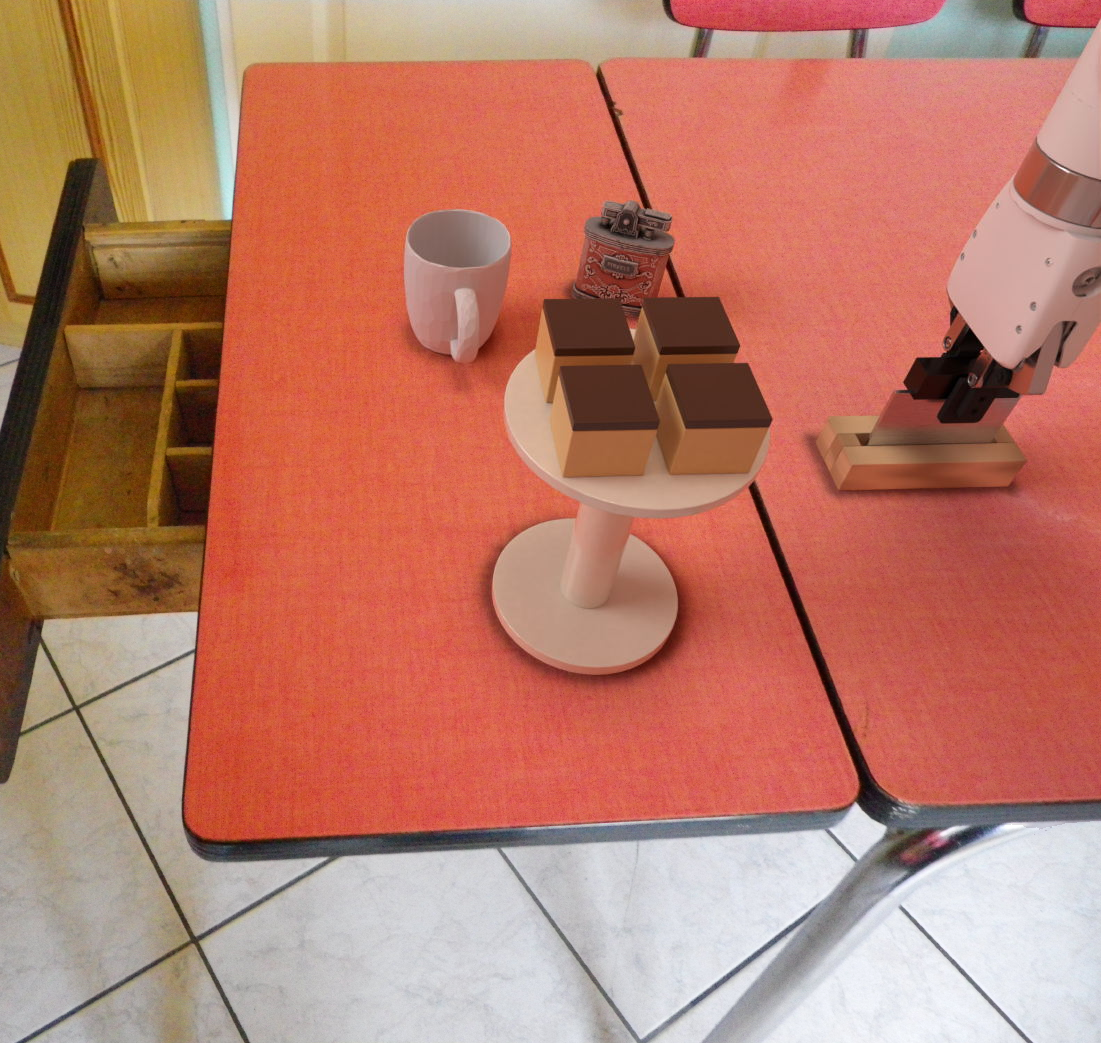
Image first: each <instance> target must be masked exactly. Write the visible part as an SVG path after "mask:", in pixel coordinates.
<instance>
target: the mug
mask: <svg viewBox="0 0 1101 1043" xmlns="http://www.w3.org/2000/svg"><path fill="white" fill-rule="evenodd" d="M403 258H404V260H403V263H404V265H403V281H404V294H405V304H406V311H407V314H408V317H409V323H410V326H411V329H412V332H413V333H414V335H415V338H416V339H417V340H418V341H419V344H421V345H422V346H423V347H424V348H426V349H428V350H430V351H431V352H435V353H437V354H442V355H449V356H450V355H451V357H452V359H453V360H454V361H455V362H456V363H458V364H467V363H472V362H474V360H475V359H476V358H477V355H478V353H479V349H480V348H481V347H483V346H484V344H485V343H486V341H487V340H488V339H489V338H490V337H491V335H492V332H493V331H494V329H495V326H496V324H497V321H498V319H499V317H500V313H501V309H502V307H503V303H504V300H505V295H506V291H507V287H508V280H509V273H510V267H511V260H512V236H511V234H510V231H509V229H508V228H507V227H506V225H505V224H504V223H503V222H501V221H500V220H499V219H498V218H495V217H493V216H491V215H488V214H486V213H484V212H480V211H475V210H469V209H462V208H452V209H451V208H450V209H439V210H438V209H437V210H434V211H430V212H427V213H424V214H422V215H420V216H419V217H417V218H416V219H415V220H414V221H412V223H411V224H410V226H409V227H408V229H407V232H406V236H405V245H404V257H403Z"/></svg>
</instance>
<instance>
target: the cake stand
mask: <svg viewBox="0 0 1101 1043" xmlns="http://www.w3.org/2000/svg"><path fill="white" fill-rule="evenodd" d="M629 329H630V332H631V335H632V338H633V339H634V335H635V332H636V328H629ZM535 349H536V348H534V349H533V350H531V351H530V352H529V353H528V354H527V355H525V356H524V357H523V359H521V361H520V362H518V364H517V365H516V366H515V368H514V370H513V371H512V373H511V374H510V375H509V378H508V381H507V384H506V386H505V391H504V397H503V404H502V410H503V411H502V419H503V423H504V427H505V432H506V434H507V436H508V439H509V442H510V444H511V445H512V447H513V449H514V451H515V452H516V454H517V456H518V457H519V458H520V459H521V460H522V462H523V463H524V464H525V465H526V467H527V468H528V469H529V470H530V471H531V472H532V473H534V474H535V475H536V476H537V477H538V478H539V479H540V480H542V481H543V482H545V483H546V484H547V485H548V486H550V487H551V488H553V489H554V490H556V491H557V492H559V493H561V494H563V495H564V496H566V497H568V498H571V499H572V500H574V501H577V502H579V504H578V508H577V512H576V516H575V518H573V517H572V518H571V517H570V518H569V517H568V518H558V519H551V520H548V521H544V522H540V523H538V524H535V525H532V526H531V527H529V528H526V529H525V530H523V531H521V532H520V533H519V534H517V535H515V536H514V537H513V538H512V540H510V541H509V542H508V543H507V545H506V546H505V547H504V548H503V550H502V551H500V552H501V553H500V554H499V557H498V558H497V560H496V563H495V566H494V569H493V575H492V582H491V598H492V605H493V608H494V611H495V615H496V616H497V618H498V620H499V622H500V624H501V626H502V627H503V629H504V631H505V632H506V633H507V634H508V636H509V637H510V638H511V639H512V640H513V641H514V643H516V644H517V645H518V646H519V647H520V648H521V649H522V650H524V651H525V652H526V653H527V654H529V655H531V656H532V657H533V658H535V659H537V660H539V661H541V662H543V663H544V664H547V665H548V666H551V667H553V668H555V669H559V670H563V671H566V672H569V673H573V674H574V673H575V674H579V675H591V676H595V675H596V676H598V675H601V676H603V675H611V674H616V673H617V674H618V673H621V672H625V671H629V670H631V669H634V668H636V667H639V666H640V665H642V664H644V663H646V662H647V661H649V660H650V659H652V658H653V657H654V656H655V655H656V654H657V653H658V652H659V651H660V650H661V649H662V648H663V646H664V645H665V644H666V643H667V641H668V639H669V637H670V635H671V633H672V631H673V628H674V626H675V624H676V623H675V622H676V621H677V617H678V610H679V596H678V592H677V591H678V590H677V587H676V584H675V581H674V578H673V576H672V574H671V572H670V570H669V568H668V567H667V565H666V564H665V562H664V560H662V558H661V557H660V555H658V553H656V551H655V550H653V549H652V548H651V547H650V546H649V545H648V544H647V543H646V542H644V541H642V540H641V539H640V538H638V536H636V535H633V534H632V533H631V532H632V529H633V527H634V523H635V520H636V518H637V519H652V520H654V519H655V520H661V519H662V520H664V519H678V518H686V517H691V516H696V515H699V514H704V513H707V512H710V511H713V510H715V509H718V508H720V507H722V506H724V505H726V504H728V503H729V502H731V501H733V500H734V499H736V498H738V497H739V496H740V495H741V494H742V493H743V492H745V491H746V490H747V489H749V487H750V486H751V485H752V484H753V482H754V481H755V480H756V478H757V477H758V475H759V473H760V472H761V470H762V468H763V467H764V463H765V461H766V460H767V457H768V454H769V450H770V444H771V428H770V427H769V429H768V431H767V434H766V436H765V438H764V440H763V443H762V445H761V447H760V449H759V452H758V454H757V456H756V459H755V461H754V463H753V465H752V468H751V470H750V472H749V473H723V474H680V475H670V474H669V471H668V468H667V465H666V462H665V459H664V456H663V453H662V450H661V446H660V443H659V440H658V437H657V434H656V436H655V439H654V442H653V445H652V449H651V452H650V455H649V458H648V461H647V464H646V468H645V471H644V474H643V475H635V476H592V477H562V473H561V469H560V465H559V460H558V456H557V451H556V447H555V442H554V438H553V433H552V429H551V424H550V416H551V411H552V406H553V403H546V401H545V397H544V392H543V388H542V383H541V379H540V374H539V370H538V366H537V361H536V357H535ZM631 365H634V362H633V359H632V362H631ZM656 402H657V401H654V404H655V405H656Z"/></svg>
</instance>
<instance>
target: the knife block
mask: <svg viewBox="0 0 1101 1043" xmlns="http://www.w3.org/2000/svg"><path fill="white" fill-rule="evenodd" d="M880 415H881V414H880ZM880 415H879V414H877V415H876V414H875V415H873V414H872V415H830V416H828V417H827V418H826V421H825V422H824V424H823V427H822V429H821V431H820V433H819V434H818V436H817V438H816V441H815V445H816V446H817V449H818V451H819V453H820V455H821V457H822V460H823V461H824V463H825V466H826V467H827V470H828V472H829V474H830V476H831V479H832V481H833V482H834V484H835V486H836V489H837V491H870V490H872V491H873V490H909V489H910V490H911V489H914V490H916V489H917V490H918V489H946V488H947V489H953V488H958V489H959V488H991V487H992V488H995V487H996V488H997V487H998V488H999V487H1009V486H1010V484H1011V483H1012V481H1014V479H1015V478H1016V476H1017V475H1018V474H1019V472H1020V471H1021V470H1022V469H1023V467H1024V466H1025V464H1026V463H1027V462H1028V460H1027V458H1026V456H1025V454H1024V453H1023V452H1022V450H1021V449H1020V447H1019V445H1018V443H1016V441H1015V440H1014V438H1013V436H1012V434H1010V432H1009V430H1008V429H1007V427H1006V426H1005V425H1004V423H1003V425H1002V426H1001V428H1000V429H999V431H998V432H997V434H996V435H995V437H994V438H993V440H992V441H991V443H985V444H939V445H893V446H864V444H865V442H866V441H867V439H868V437H869V435H870V433H871V431H872V430H873V428H874V426H875V424H876V422H877V420H878V418H879V417H880Z"/></svg>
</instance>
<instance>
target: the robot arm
mask: <svg viewBox="0 0 1101 1043" xmlns="http://www.w3.org/2000/svg"><path fill="white" fill-rule="evenodd" d="M946 294H947V298H948V302H949V306H950V311H949V328H948V330H947V332H946V334H945V335H944V337H943V339H942V348H943V350H944V351H945V352H942V353H941V355H940V357H979V358H978V360H977V361H976V363H975V365H974V366H973V368H972V370H971V371H970V373H969V375H968V378H959V380H958V381H957V383H956V385H955V386H954V388H953V390H952V391H951V393H950V395H949V396H948V398H947V399H946V401H945V402H944V404H943V406H942V407H941V409H940V411H939V412H938V415H937V418H938V420H939V422H940V423H942V424H949V423H977V422H979V421H980V420H981V419H982V418H983V416H984V415H985V413H986V412H987V410H988V409H989V407H990V406H991V404H992V402H993V401H994V399H995V398H996V396H997V395H998V393H999V392H1000V390H1001V389H1002V387H1008V389H1011V390H1013V391H1015V392H1017V393H1019V394H1021V395H1022V396H1043V395H1045V393H1046V391H1047V389H1048V385H1049V383H1050V380H1051V376H1052V372H1053V369H1054V366H1055V367H1057V369H1067V368H1070V367H1071V366H1072V365H1073V364H1074V363H1075V362H1076V360H1077V359H1078V358H1079V356H1080V355H1081V354H1082V352H1083V351H1084V349H1085V347H1086V346H1087V345H1088V343H1089V342H1090V340H1091V338H1092V337H1093V336H1094V334H1095V332H1096V331H1097V329H1098V327H1099V325H1100V324H1101V18H1100V19H1099V21H1098V23H1097V24H1096V27H1095V29H1094V30H1093V32H1092V34H1091V35H1090V38H1089V39H1088V41H1087V43H1086V45H1085V47H1084V49H1083V50H1082V53H1081V54H1080V56H1079V58H1078V60H1077V62H1076V64H1075V65H1074V67H1073V68H1072V71H1071V72H1070V74H1069V76H1068V78H1067V79H1066V81H1065V84H1064V86H1063V87H1062V89H1061V91H1060V93H1059V95H1058V96H1057V98H1056V100H1055V101H1054V104H1053V106H1052V107H1051V109H1050V111H1049V112H1048V115H1047V117H1046V118H1045V120H1044V122H1043V124H1042V126H1041V128H1040V130H1039V131H1038V133H1037V135H1036V136H1035V138H1034V140H1033V142H1032V144H1031V145H1030V148H1029V149H1028V151H1027V153H1026V155H1025V157H1024V158H1023V160H1022V162H1021V164H1020V166H1019V168H1018V169H1017V171H1016V172H1015V173H1014V174H1013V175H1012V176H1011V178H1010V179H1009V180H1008V181H1007V182H1006V183H1005V185H1004V186H1003V188H1001V190H1000V191H999V193H998V194H997V195H996V197H995V198H994V199H993V201H992V202H991V204H990V205H989V207H988V208H987V210H986V211H985V213H984V214H983V216H982V217H981V219H980V220H979V222H978V223H977V224H976V226H975V228H974V230H973V231H972V233H971V235H970V236H969V237H968V239H967V241H966V243H965V245H964V246H963V248H962V250H961V252H960V254H959V256H958V257H957V259H956V261H955V263H954V266H953V267H952V270H951V272H950V275H949V277H948V280H947V282H946ZM997 362H998V363H999V364H1000V365H1002V366H1003V367H1002V368H996V369H994V367H995V365H996V364H997Z"/></svg>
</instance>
